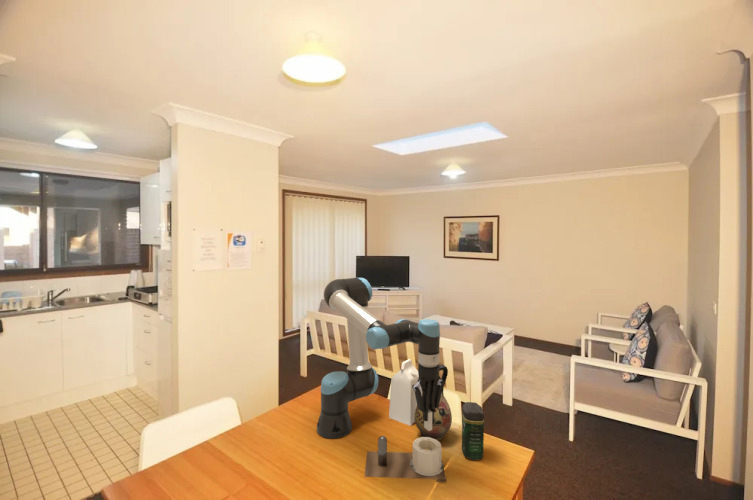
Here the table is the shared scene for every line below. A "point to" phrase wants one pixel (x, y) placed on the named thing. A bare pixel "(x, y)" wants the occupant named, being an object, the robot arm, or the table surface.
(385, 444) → the stand rod
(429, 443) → the ring
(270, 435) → the table surface
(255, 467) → the table surface
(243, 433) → the table surface
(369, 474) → the board
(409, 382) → the milk
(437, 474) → the hub
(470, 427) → the coffee jar
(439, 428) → the ceramic jug
